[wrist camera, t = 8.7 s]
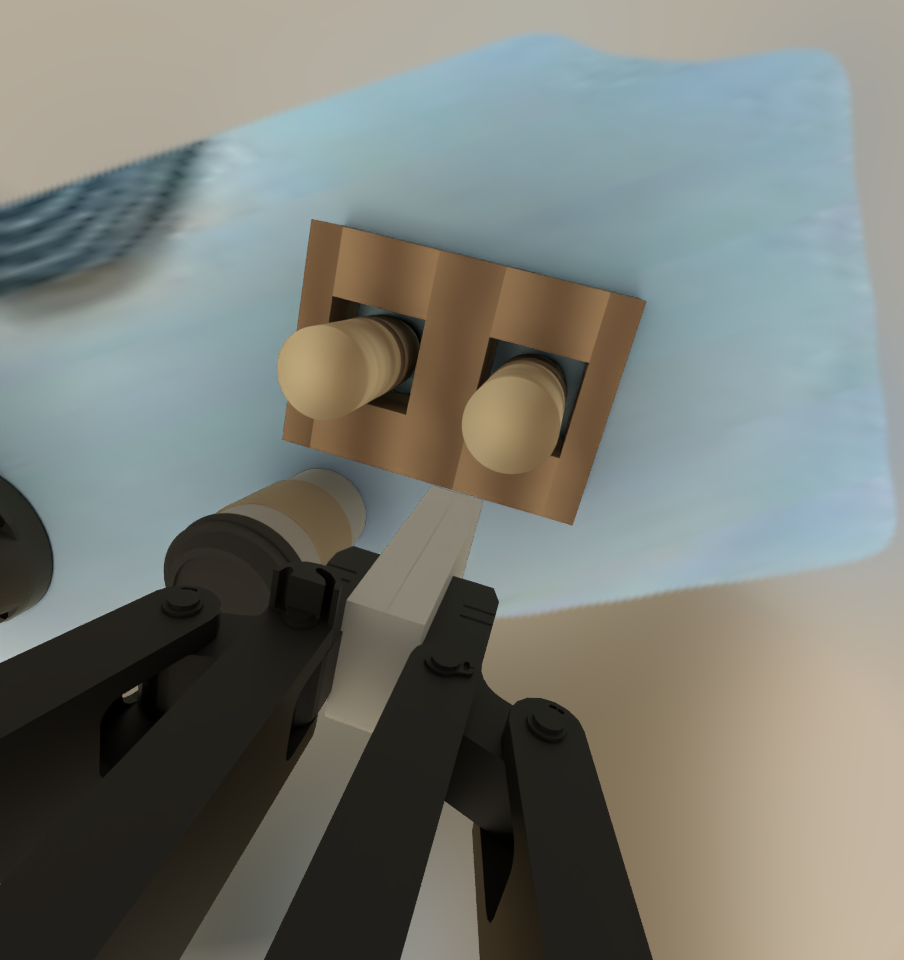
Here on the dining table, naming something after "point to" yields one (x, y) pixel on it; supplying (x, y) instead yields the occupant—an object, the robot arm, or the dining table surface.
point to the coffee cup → (266, 538)
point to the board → (463, 361)
